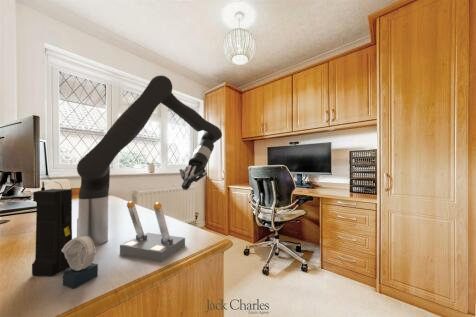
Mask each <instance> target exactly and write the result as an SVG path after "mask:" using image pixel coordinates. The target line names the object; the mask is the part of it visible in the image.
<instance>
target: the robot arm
mask: <svg viewBox="0 0 476 317" xmlns="http://www.w3.org/2000/svg"><path fill="white" fill-rule="evenodd" d="M172 92H173V83H172V81H171V79H170V78H168V77H167V76H165V75H163V74H161V75H159V74H158V75H156V76H154V77H152V78H151V80H150V81H149V82H148V84H147V85H146V87H145V89H144V90H143V92H142V93H141V94H140V95H139V97H138V98H137V99H136V100H134V101H133V102H132V103H131V104H130V105H129V106H128V107H127V108H126V110H124V111H123V113H122V114H120V116H119V117H118V118H117V119H116V120H115V121H114V123H113V124H112V125H111V127H110V128H109V129H108V130H107V131H106V133H105V134H104V136H103V137H102V139H100V141H99V142H98V143H96V145H95V146H94V147H93V148H92V149H91V150H90V151H89V152H87V154H85V155H84V156H83V157H82V158H81V159H80V160H79V161H78V163H77V166H76V172H77V174H78V175H79V177H80V188H79V191H78V211H77V212H78V213H77V214H78V218H77V219H76V237H80V236H89V237H90V238H91V239H92V240H93V242H94V245H95V246H98V245H101V244H102V245H103V243H106V242H108V240H109V194H110V193H109V192H110V180H111V179H110V178H111V177H110V176H111V168H110V165H111V164H112V163H113V161H114V160H115V159H116V156H117V155H118V154H119V153H120V152H121V151H122V150H123V149H125V147H127V146H128V145H129V144H130V143H131V142H133V140H134V139H136V138H137V137H138V135H139V134H140V133H141V131H142V130H143V129H144V128H145V126H146V124H147V123H148V122H149V120H150V118H151V117H152V115H153V113H154V112H155V110H156V109H157V107H158V106H159V105H160V104H162V105H163V106H165V107H166V108H168V109H170V110H171V111H172V112H173V113H174V114H176V116H178V117H180V118H181V119H182V120H183V121H184V122H186V123H187V124H188V125H189V126H190V127H191V128H192V129H193V130H194V131H196V132H198V133H199V132H201V131H204V133H203V134H202V135H201V137H200V138H201V139H200V142H199V144H198V146H197V147H196V148H195V150H194V151H193V153H192V155H191V156H190V159H189V160H188V165H186V166H185V168H180V169H179V170H178V171H179V173H180V178H181V179H182V180H183V182H182V183H181V188H182V190H183V191H188V189H190V187H191V185H192V184H193V183H194V182H195V183H197V182H198V181H200V180H201V179H203V178H205V176H207V175H208V172H207V170H206V169H205V168H206V167H207V165H208V162H209V160H210V158H211V155H212V153H213V151H214V148H215V143H216V142H218V141H219V140H220V139H221V138H222V136H223V133H222V130H221V129H220V127H218V126H217V125H215V124H213V123H211V122H210V121H208V120H206V119H205V118H203V117H202V115H201V114H199V113H198V112H197V111H196V110H195V109H193V108H191V107H190V106H188V105H186V104H185V103H184V102H182V101H181V100H180V99H178V98H177V97H176V95H174V94H173V93H172ZM92 245H93V244H92Z"/></svg>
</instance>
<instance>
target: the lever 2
mask: <svg viewBox="0 0 476 317" xmlns="http://www.w3.org/2000/svg"><path fill="white" fill-rule="evenodd" d="M153 209H154V214H155V217H156V220H157V224H158V228H159V231H160V234H161V235H162V239H163V242H165V243H169V240H170V237H169V236H170V234H169V230H168V224H167V221H166V217H165V214H164V211H163V205H162V204H161V202H155V203H154V204H153Z"/></svg>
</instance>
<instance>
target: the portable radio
mask: <svg viewBox="0 0 476 317" xmlns="http://www.w3.org/2000/svg"><path fill="white" fill-rule="evenodd" d="M41 183H42V184H41V186H42V187H41V188H40V190H36V191H33V193H32V194H33V197H32V202H35V203H36V211H35V212H36V216H35V218H36V219H35V221H36V222H35V259H34V261H33V262H32V264H31V275H32V276H34V277H47V278H48V277H54V276H57V275H59V274H60V273H63V272H65V270H66V271H67V270H69V269H71V267H70V265H69V263H68V261H67V259H66V258H65V255H64V253H63V252H62V249H63V247H64V246H65V245H66V243H68V242H69V241H70V240H72V239H73V222H72V221H73V215H72V214H73V213H72V212H73V190H72V189H71V188H68V189H67V188H51V189H46V187H45V181H42V182H41ZM71 261H72V260H71Z"/></svg>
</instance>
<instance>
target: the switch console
mask: <svg viewBox="0 0 476 317" xmlns="http://www.w3.org/2000/svg"><path fill="white" fill-rule="evenodd" d="M169 237H170V240H169V243H165V242H163V239H162V235H161V233H154V232H147V233H144V236H143V239H138V237H137V234H135V238H132V239H130V240H128V241H125V242H123V243H122V244H119V255H122V256H126V257H127V256H128V257H133V258H139V259H142V260H149V261H153V262H159V263H163V262H164V261H166V260H167V259H169V258H171V257H172V256H173V255H174V254H176V253H177V252H178V251H180V250H181V249H183V248H185V247H186V237H181V236H174V235H169Z"/></svg>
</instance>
